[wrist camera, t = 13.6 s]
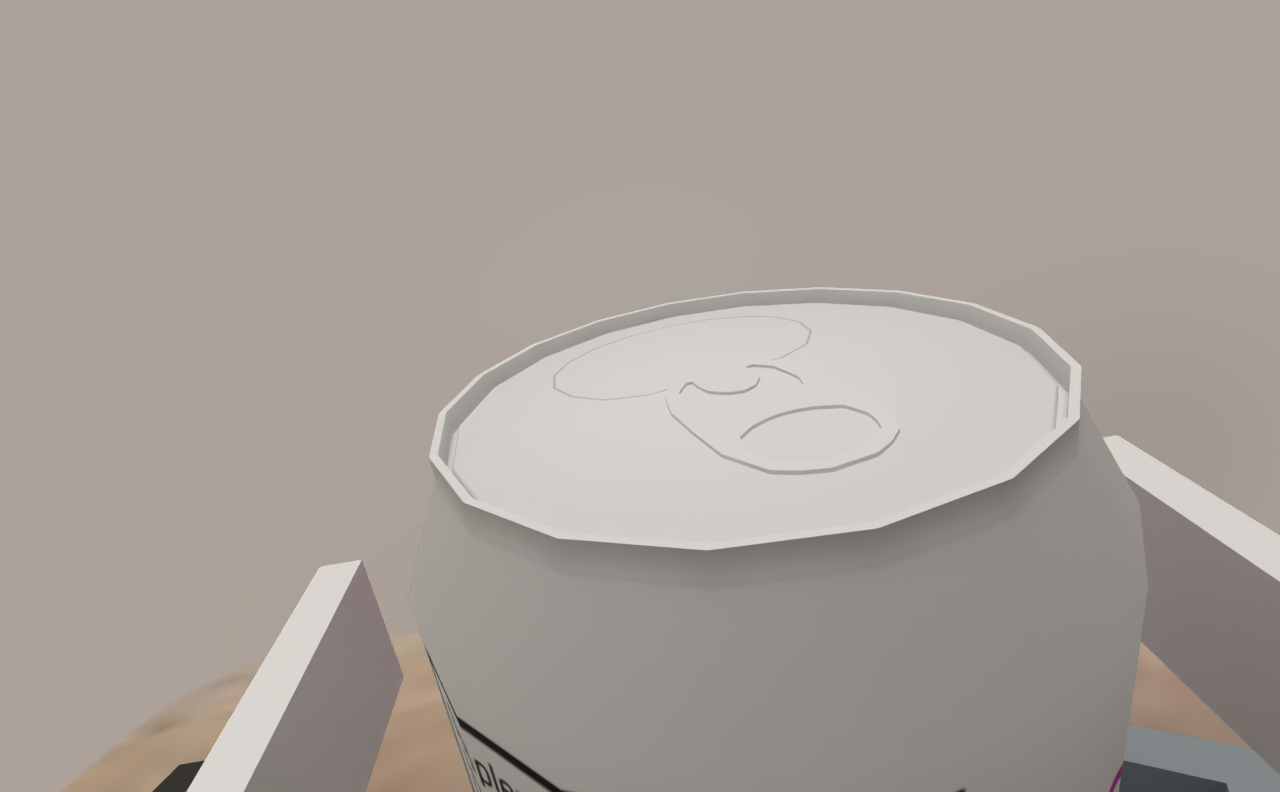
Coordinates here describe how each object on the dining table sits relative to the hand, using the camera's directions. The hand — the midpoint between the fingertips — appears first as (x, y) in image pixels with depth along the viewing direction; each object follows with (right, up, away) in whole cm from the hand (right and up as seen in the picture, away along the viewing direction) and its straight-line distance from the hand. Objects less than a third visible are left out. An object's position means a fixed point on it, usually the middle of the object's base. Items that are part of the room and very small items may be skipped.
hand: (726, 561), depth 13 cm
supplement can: (+2, -11, +1) cm, 11 cm away
